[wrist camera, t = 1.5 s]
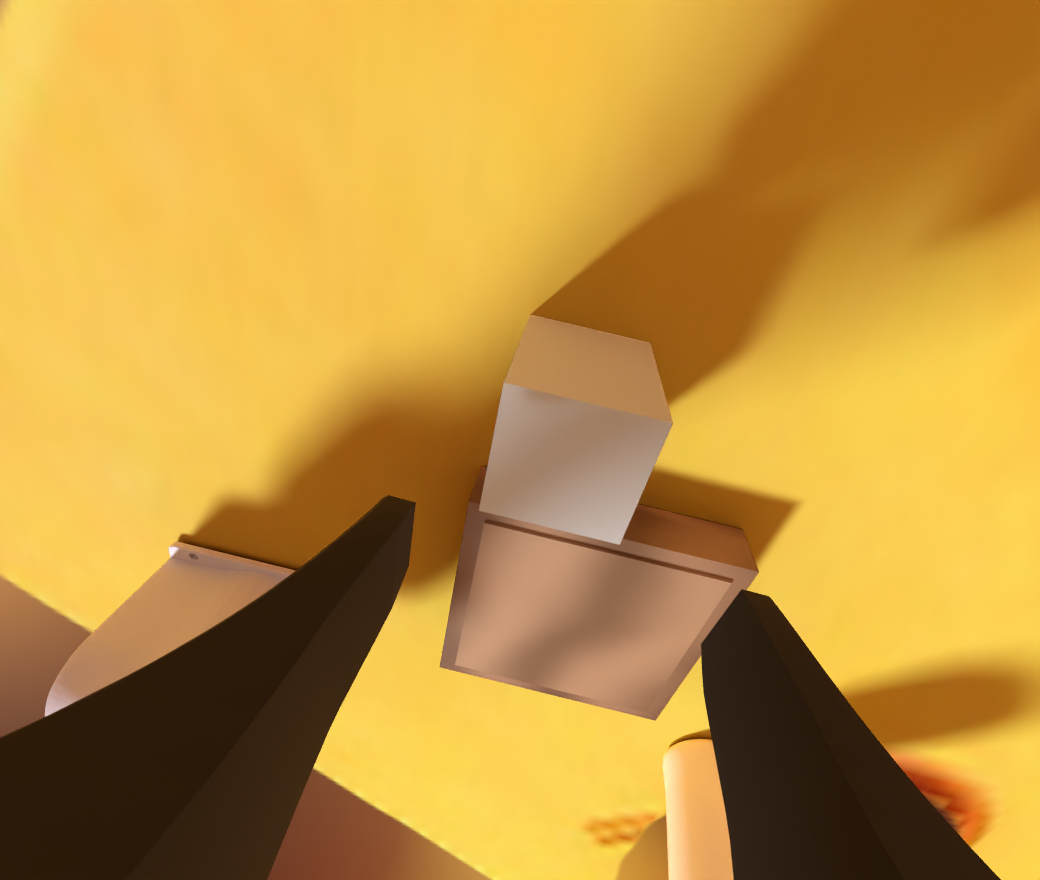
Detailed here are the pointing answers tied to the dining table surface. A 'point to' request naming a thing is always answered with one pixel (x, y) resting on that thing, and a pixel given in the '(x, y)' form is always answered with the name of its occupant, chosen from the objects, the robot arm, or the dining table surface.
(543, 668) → the walnut plinth
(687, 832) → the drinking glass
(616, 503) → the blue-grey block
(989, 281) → the dining table surface
